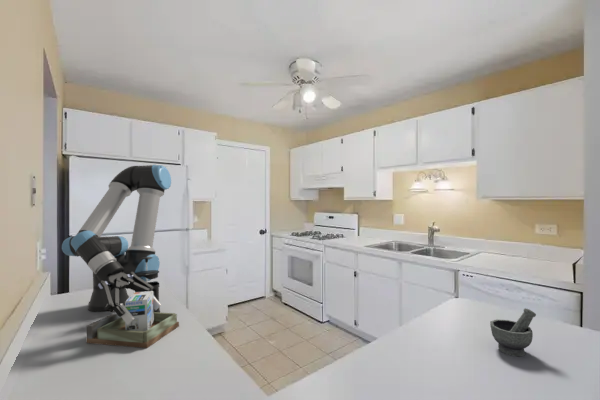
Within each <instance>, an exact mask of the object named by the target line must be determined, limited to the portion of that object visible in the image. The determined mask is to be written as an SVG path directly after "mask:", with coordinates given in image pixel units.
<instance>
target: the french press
mask: <svg viewBox="0 0 600 400" xmlns="http://www.w3.org/2000/svg"><path fill="white" fill-rule="evenodd" d="M151 258H152V257H143V258H141V259H145V262H146V271H141V272H137V273H135V274H136V276H138V277H146V282H147V283H148V284H150V285H151V286H153V289H152V290H151V291H153V294H154V296H155V297H156V299H157V300H158V301H159V302H160V291H159V290H160V282H159V281H157V280H156V281H147V279H151V280H155V279H157V278H158V277H159V274H160V271H159V269H158V270H147V262H148V259H151ZM134 292H136V291H134ZM160 307H161V306H160ZM160 307H159V308H158V309H157V310H156V311H155V310H154V312H160V313H161V309H160Z"/></svg>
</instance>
